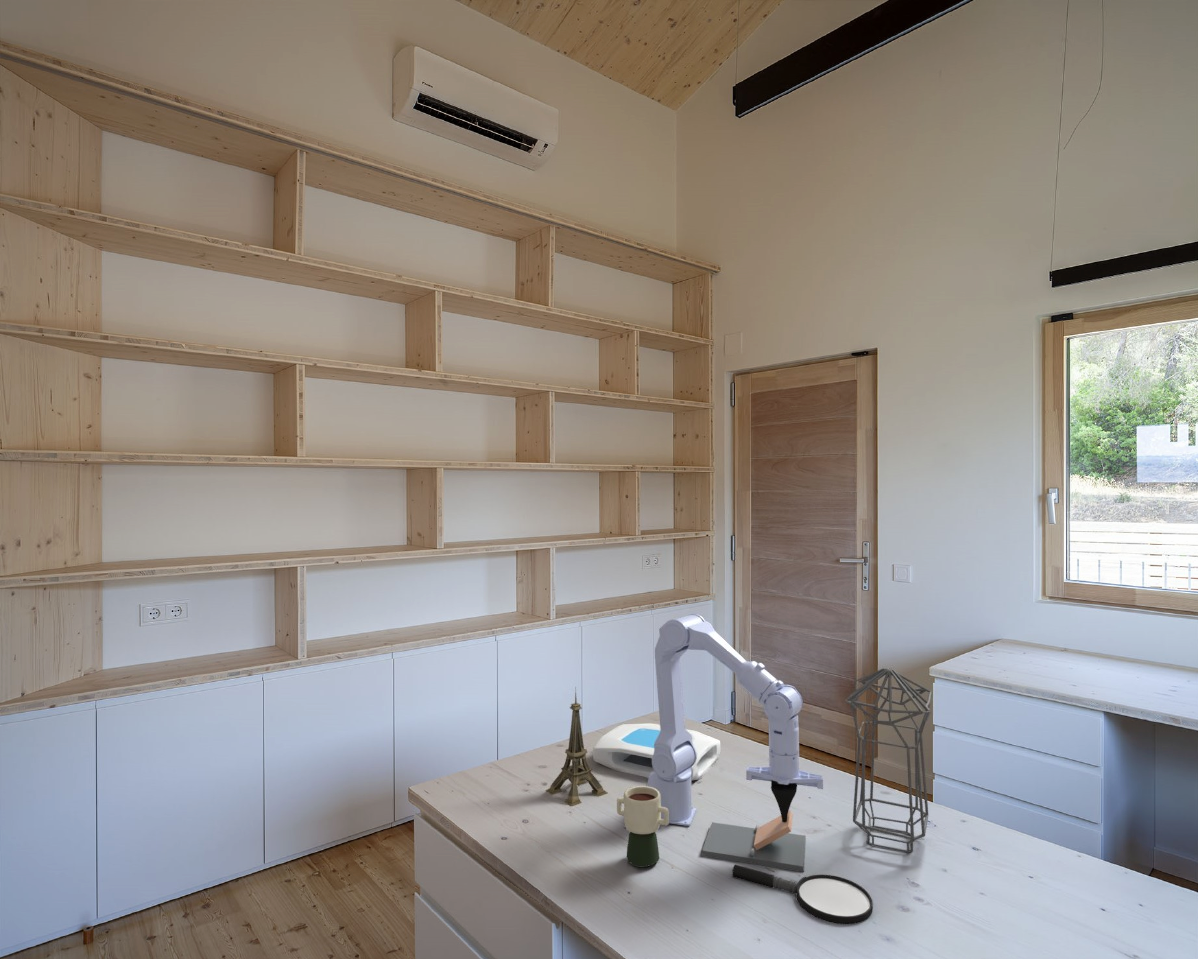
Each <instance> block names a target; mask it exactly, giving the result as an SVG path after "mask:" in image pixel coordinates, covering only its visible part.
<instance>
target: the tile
mask: <svg viewBox="0 0 1198 959" xmlns="http://www.w3.org/2000/svg"><path fill="white" fill-rule="evenodd" d="M793 818H794V813H792V811H791V810H789V811H788V815H787V822H782V817H781V815H779V816H777V817H776V818H773V819H771V820H770V821H768V822H766V823H764V824H763V825H761V826H759V828H758V829H757V832H756V837H755V841H754V847H755V848H756V850H758V849H760V848H762V847H764V846H765V845H767V844H769V843H771V842H773V841H774V840H776V839H778V838H780V837H782V836H784V835H785V834H787V833H791V832H792V826H793Z"/></svg>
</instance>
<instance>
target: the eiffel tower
mask: <svg viewBox="0 0 1198 959" xmlns="http://www.w3.org/2000/svg"><path fill="white" fill-rule="evenodd" d="M575 691H577V687H576V686H575ZM574 693H575V694H574V695H575V696H574V703H571V704H570V706H569V709H570V710H572V714H571V720H570V721H571V723H570V724H571V725H570V731H569V732H570V733H569V740H568V741H569V742H568V748H566V749H565V752H564V753H565V754H566V757H565V762H564V765H563V766H562V767H560V768H561V772H560V773H559V774H558V776H557V777H556V778H555V779H554V780H553V781H552V783H551V784H550V786H549V788H548V789H545V792H546V793H548V792H549V794H550V795H555V794H558V793H561V792H562V791H563V789H562V787H563V785H564V784H565V782H566V781H567V780H569V782H570V783H571V786H570V789H569V792H568V794H567V795H568V796H567V798H566V800H564V803H565V804H567V805H569V806H570V807H574V806H576V805H580V804H582V801H581V799H580V796H579V788H578V787H579V786H582V785H585V784H589V786H590V787H591V794H593V795H595V796H597V797H601V796H604V795H607V794H608V793H609V792H608V791H606V790H604V788H603V786H602V785H601V783H600V782H599V780H597V778H596V776H595V775H594V774H593V773H592V770H593V769H592V768H591V767H590V766H589V762H588V760H587V759H588V758H587V754H588V750H587V749H586V748H585V745H584V738H583V731H582V723H581V715H580V710H582V709H583V707H582V706H581V705H582V704H581V703H578V700H577V692H574Z"/></svg>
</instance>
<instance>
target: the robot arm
mask: <svg viewBox="0 0 1198 959" xmlns="http://www.w3.org/2000/svg"><path fill="white" fill-rule="evenodd" d="M658 630H659V635H658V636H659V637H658V639H657V642H656V645H655V647H654V662H655V673H656V674H655V675H656V690H657V699H658V700H657V703H658V713H659V714H658V715H659V725H660V730H661V731H660V733H659V735H658V737H657V739H656V741H655V743H654V754H653V757H652V758H651V765H652V766H651V767H652V768H653V769H654V771H655V772H651V773H650V775H649V777H648V779H647V786H648V787H652V788H655V789H657V790H658V791H659V793H660V796H661V807H665V808H667V809H668V811H669V824H673V825H679V826H685V827H686V826H687V827H690V826H691V824H692V822H693V819H694V817H695V814H696V812H697V808H696V807H693V806H692V805H693V804H692V800H693V799H692V780H691V772H692V766H693V765H694V764H695V762H696V759H697V753H696V749H695V747H694V745H693V742H692V735H691V734H690V733H689V732H688V731H687V730H688V729H687V728H686V721H685V708H684V695H683V685H682V684H683V683H682V671H681V670H682V669H681V660H680V659H681V657H682V656H683V655H684V654H685V653H686V652H687V651H688V650H694V651H706V652H707V653H708V654H710V655H711V656H712V657H714V658H715V659H716V660H717V661H719V662H720V664H721V663H722V664H723V665H724V666H725V667H726V668H728V669H729V670H730V671H732V672H733V673H734V674H735V676H736V682H737V684H738V685H739V686H740V687H742V688H743V690H745V691H746V692H748V694H750V695H751V697H753V698H754V699H755V700H756V701H758V702H759V703H760V704H761V705H762V709H763V711H764V714H765V716H766V717H767V719H768V764H769V765H768V766H747V767H746V769H745V770H746V772H745V773H746V774H745V776H746V777H745V778H746V781H752V780H757V781H762V782H763V781H764V782H770V789H771V792H772V794H773V797H774V798H775V800H776V803H777V806H778V808H779V812H780V816H781V817H782V822H787V815H788V811H790V807H791V805H792V802H793V799H794V798H795V795H796V794H797V790H798V786H804V787H806V786H807V787H812V788H814V787H815V788H817V789H818V790H823V789H824V775H822V774H816V773H812V772H807V771H805V770H801V769H800V743H799V742H800V733H799V732H800V731H799V730H800V729H799V728H800V727H799V715H798V714H799V713H800V711H801V710H802V708H803V704H804V702H803V697H802V695H801V693H800V692H799V691H798V690H797V688H796V687H795V686H793V685H791V684H784V682H783V681H782V680H778V679H777V678H776V677H775V676H774V675H772V674H771V673H770V672H768V670H766V669H765V668H766V665H764V664H763V663H762V662H757V661H755V660H752V661H751V660H750V661H748V660H746V659H745V658H744V657H743V656H741V654H740V653H739V652H737V651H736V650H735V649H734V648H733V647H732V646H731V645H730V643H729V642H727V641H726V640H725V639H724V638H723V637H722V636H721V635H720V634H719V633H718V632H717V631H716V630H715V629H714V627H713V625H712V624H711V622H709V621H707V620H705V619H704V617H703V616H701V615H700V614H697V613H690V614H688V615H686V616H682V617H678V618H675V619H669V620H667V621H666V622H665V623H664V624H663V625H662V626H660V628H658ZM686 729H687V730H686ZM661 819H663V820H664V813H663V812H661Z"/></svg>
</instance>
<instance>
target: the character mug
mask: <svg viewBox="0 0 1198 959" xmlns="http://www.w3.org/2000/svg"><path fill="white" fill-rule="evenodd" d="M622 804H623V806H622ZM622 808H623V809H622ZM616 812H617V814H618V815H619V816H623V822H624V825H625V829H626V830H627V831H628V832H629V833H628V839H627V848H626V859H627V861H628V863H630V865H632V866H635V867H639V868H644V867H646V868H647V867H650V866H653V865H655V864H656V863H657V862H659V860H660V851H659V844H658V836H657V833H656V832H657V830H659V828H660V826H661V825H662V826H669V824H670V823H669V811H668V809H667V808H665V807H661V796H660V793H659V791H658V790H657V789H655V788H652V787H648V785H639V786H638V785H637V786H633V787H629V788H628V789H626V790H625V791H624V793H623V797H618V798H616ZM661 812H663V813H664V820H663V819H661Z"/></svg>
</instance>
